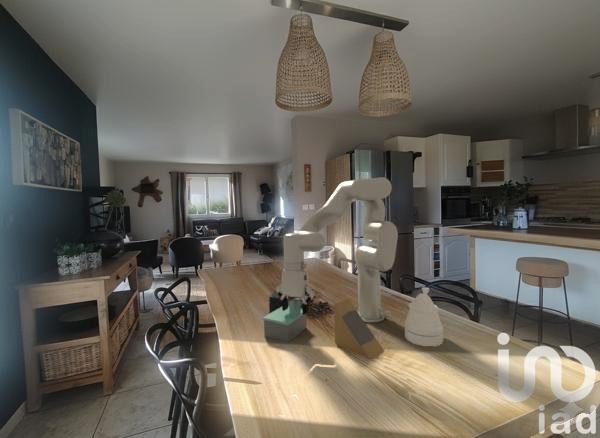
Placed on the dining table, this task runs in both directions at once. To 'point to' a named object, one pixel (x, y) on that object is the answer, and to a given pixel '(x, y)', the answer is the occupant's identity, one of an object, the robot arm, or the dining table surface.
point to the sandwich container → (354, 331)
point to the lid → (286, 313)
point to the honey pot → (423, 322)
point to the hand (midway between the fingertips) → (295, 311)
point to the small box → (274, 302)
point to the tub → (284, 329)
